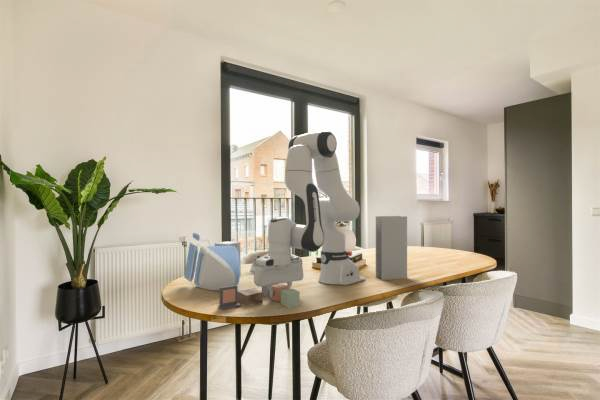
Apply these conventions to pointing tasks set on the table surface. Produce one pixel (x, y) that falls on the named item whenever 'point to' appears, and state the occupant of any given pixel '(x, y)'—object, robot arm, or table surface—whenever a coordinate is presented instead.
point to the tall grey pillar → (391, 247)
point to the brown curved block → (250, 296)
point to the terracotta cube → (278, 291)
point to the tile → (228, 297)
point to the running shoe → (255, 262)
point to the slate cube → (266, 290)
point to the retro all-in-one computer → (213, 266)
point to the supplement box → (228, 243)
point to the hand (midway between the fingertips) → (279, 294)
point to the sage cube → (290, 297)
